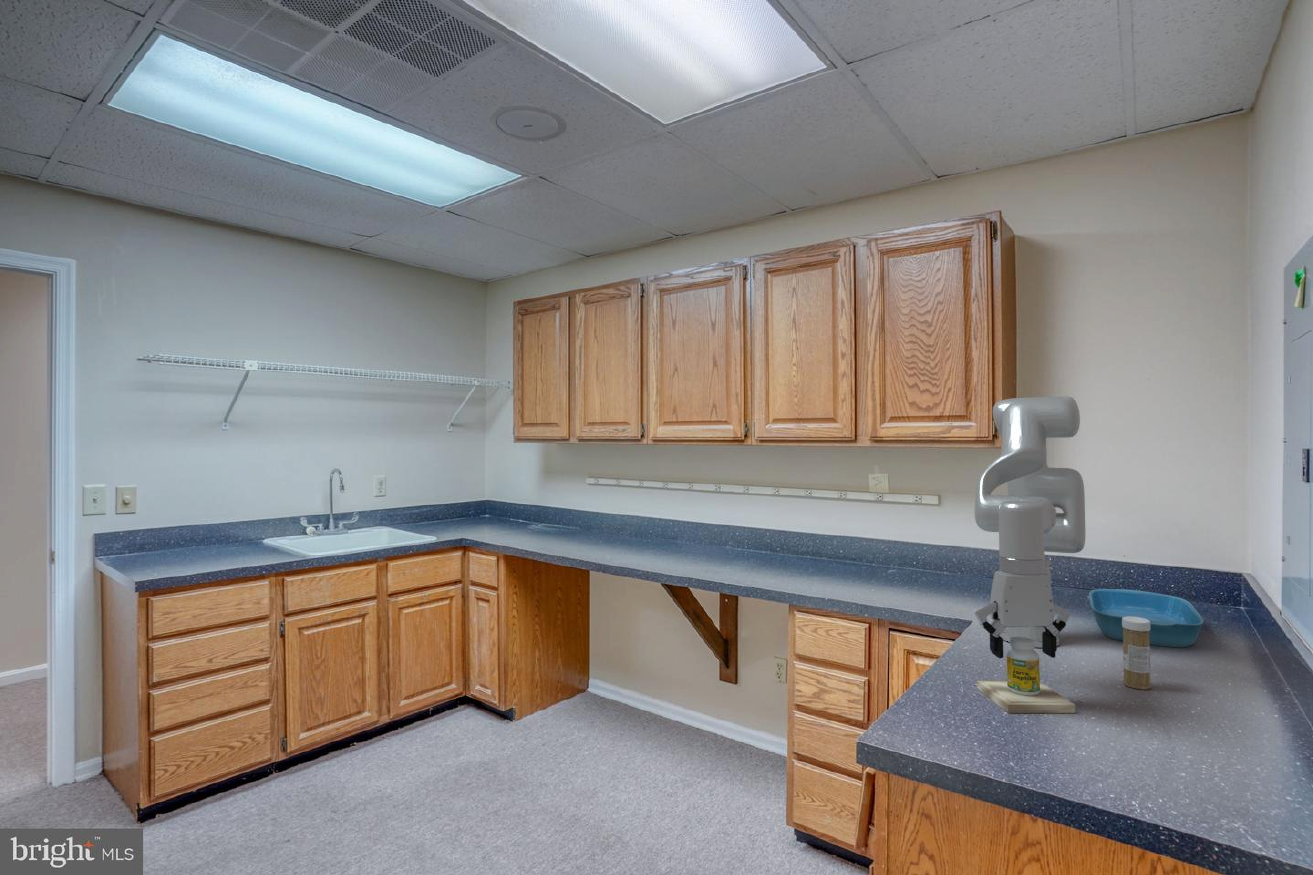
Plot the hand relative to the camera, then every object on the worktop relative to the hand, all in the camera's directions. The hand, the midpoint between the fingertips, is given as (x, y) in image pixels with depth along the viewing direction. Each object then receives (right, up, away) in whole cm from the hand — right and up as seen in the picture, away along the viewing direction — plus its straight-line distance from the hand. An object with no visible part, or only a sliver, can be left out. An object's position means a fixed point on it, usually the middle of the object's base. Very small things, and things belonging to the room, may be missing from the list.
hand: (1023, 655), depth 124 cm
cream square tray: (0, -8, -1) cm, 8 cm away
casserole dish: (+55, -9, +44) cm, 71 cm away
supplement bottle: (0, -7, -1) cm, 7 cm away
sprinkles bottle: (+26, -8, +6) cm, 28 cm away
